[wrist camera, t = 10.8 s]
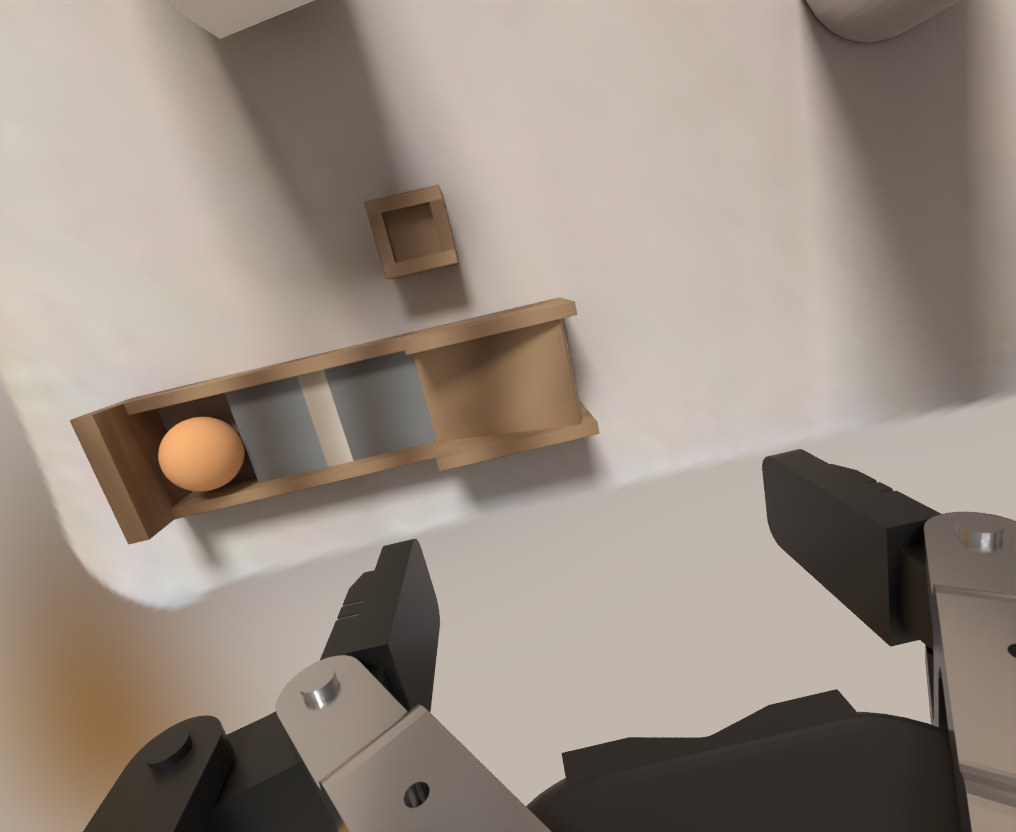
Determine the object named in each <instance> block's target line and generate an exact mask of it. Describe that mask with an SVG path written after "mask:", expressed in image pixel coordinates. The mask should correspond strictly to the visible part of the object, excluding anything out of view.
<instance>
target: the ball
mask: <svg viewBox="0 0 1016 832" xmlns="http://www.w3.org/2000/svg"><path fill="white" fill-rule="evenodd" d="M244 454H245V451H244V445H243V442H242V439H241V437H240V435H239V434H238V433H237V431H236V430H235V429H234V428H233V427H231V426H230V425H229V424H227V423H226V422H224V421H222V420H219V419H216V418H211V417H195V418H190V419H187V420H184V421H182V422H180V423H178V424H176V425H175V426H174V427H172V428H171V429H170V430H169V431H168V432H167V433H166V435H165V436H164V438H163V440H162V442H161V444H160V447H159V453H158V459H159V464H160V467H161V469H162V471H163V473H164V474H165V476H166V477H167V478H168V479H169V480H170V481H171V482H172V483H174V484H175V485H177V486H179V487H181V488H183V489H186V490H191V491H209V490H213V489H216V488H219V487H221V486H223V485H225V484H227V483H228V482H229V481H231V480H232V479H233V478H234V477H235V476H236V475H237V473H238V472H239V470H240V469H241V467H242V464H243V461H244Z"/></svg>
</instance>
